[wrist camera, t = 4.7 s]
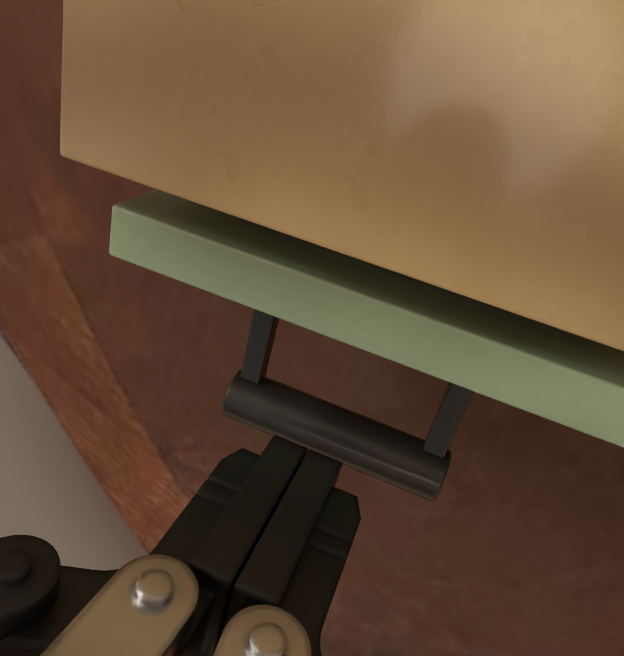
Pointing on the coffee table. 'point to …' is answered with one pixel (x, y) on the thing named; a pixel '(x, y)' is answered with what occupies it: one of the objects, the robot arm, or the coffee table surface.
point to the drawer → (369, 339)
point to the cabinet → (378, 133)
